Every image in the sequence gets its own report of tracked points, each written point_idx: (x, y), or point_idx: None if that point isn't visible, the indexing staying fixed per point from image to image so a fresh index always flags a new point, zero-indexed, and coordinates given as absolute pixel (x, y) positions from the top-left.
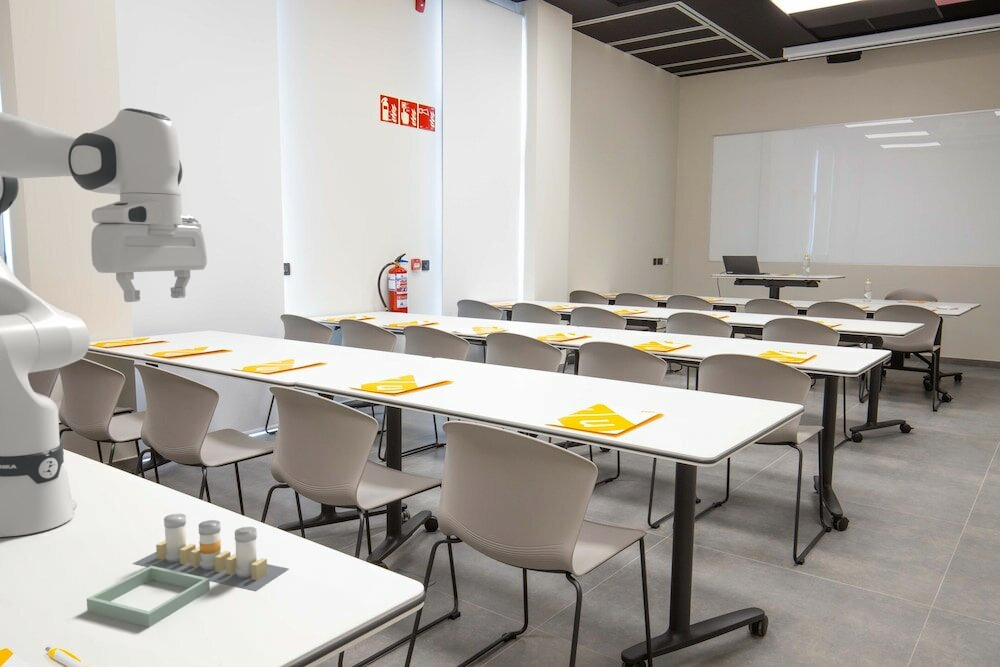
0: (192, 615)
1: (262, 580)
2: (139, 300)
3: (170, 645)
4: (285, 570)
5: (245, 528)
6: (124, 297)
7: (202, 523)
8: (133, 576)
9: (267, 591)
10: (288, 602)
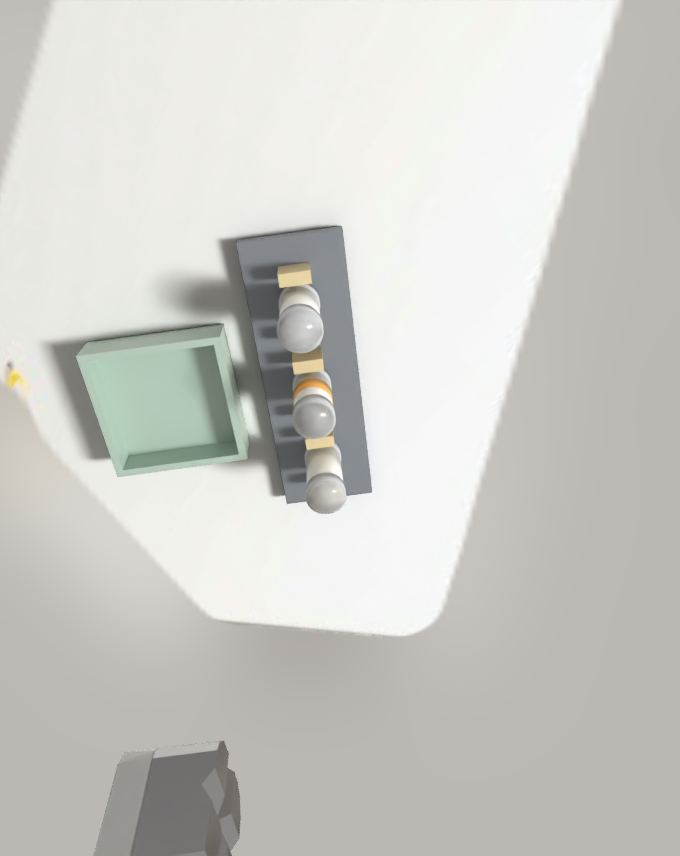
0: None
1: None
2: (239, 799)
3: (133, 494)
4: (364, 491)
5: (334, 490)
6: (114, 787)
7: (308, 407)
8: (173, 348)
9: None
10: (307, 533)
